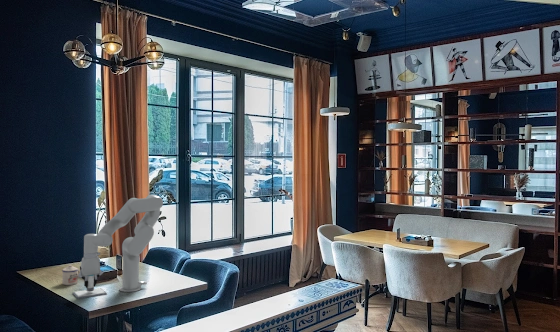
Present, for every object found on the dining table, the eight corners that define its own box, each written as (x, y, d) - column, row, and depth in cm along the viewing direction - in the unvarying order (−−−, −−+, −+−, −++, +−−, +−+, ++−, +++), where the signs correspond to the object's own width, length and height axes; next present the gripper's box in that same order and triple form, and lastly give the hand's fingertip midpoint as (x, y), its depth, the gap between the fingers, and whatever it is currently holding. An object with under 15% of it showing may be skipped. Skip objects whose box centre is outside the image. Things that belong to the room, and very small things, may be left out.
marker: (92, 289, 274) (93, 268, 274) (94, 290, 271) (95, 270, 271) (85, 290, 272) (86, 269, 271) (87, 291, 269) (87, 271, 268)
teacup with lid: (69, 286, 287) (69, 267, 287) (58, 284, 291) (58, 265, 291) (84, 281, 298) (84, 263, 298) (74, 279, 302) (74, 261, 301)
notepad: (100, 289, 282) (100, 287, 282) (106, 294, 272) (106, 292, 272) (72, 293, 272) (72, 291, 272) (77, 298, 263) (77, 297, 263)
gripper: (103, 252, 279) (103, 283, 279) (74, 255, 269) (73, 287, 269) (107, 255, 273) (106, 286, 273) (77, 258, 263) (76, 290, 263)
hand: (90, 286), depth 271 cm, fingers closed on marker, 3 cm apart
